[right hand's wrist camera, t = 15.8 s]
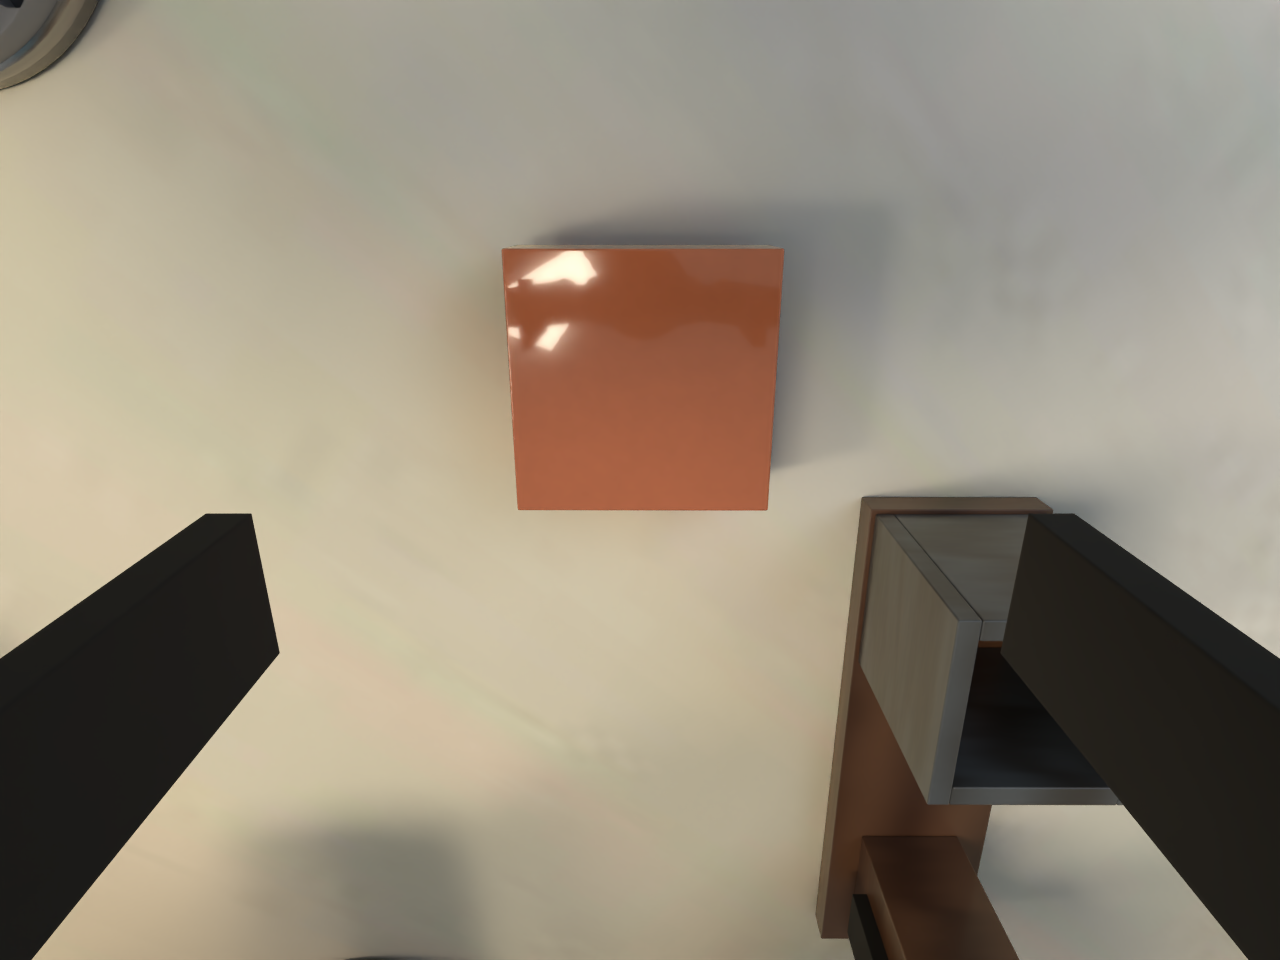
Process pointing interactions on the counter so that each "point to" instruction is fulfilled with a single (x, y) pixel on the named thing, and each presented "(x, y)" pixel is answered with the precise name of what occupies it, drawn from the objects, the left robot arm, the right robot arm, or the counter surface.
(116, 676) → the right robot arm
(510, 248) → the glossy orange tile
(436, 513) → the counter surface
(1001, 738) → the brown wooden desk organizer
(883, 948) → the left robot arm
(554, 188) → the counter surface
